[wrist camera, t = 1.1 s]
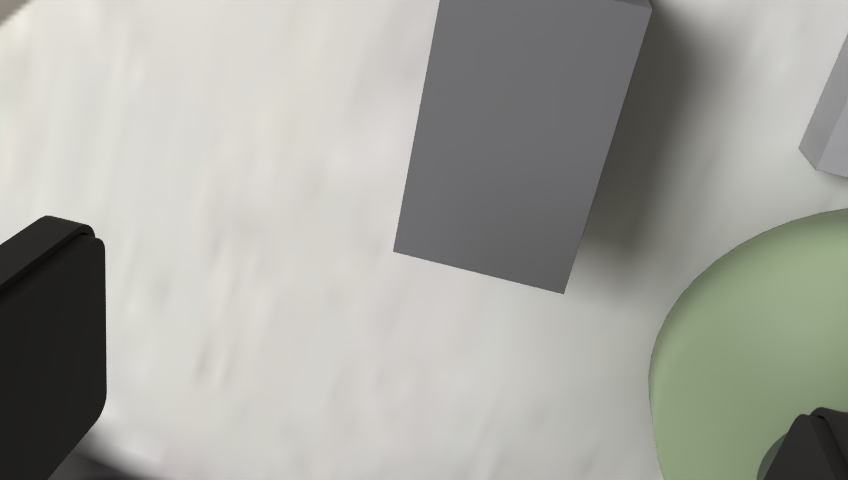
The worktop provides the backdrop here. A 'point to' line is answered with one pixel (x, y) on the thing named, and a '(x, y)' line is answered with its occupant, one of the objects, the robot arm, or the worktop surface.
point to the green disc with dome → (759, 331)
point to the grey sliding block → (516, 132)
